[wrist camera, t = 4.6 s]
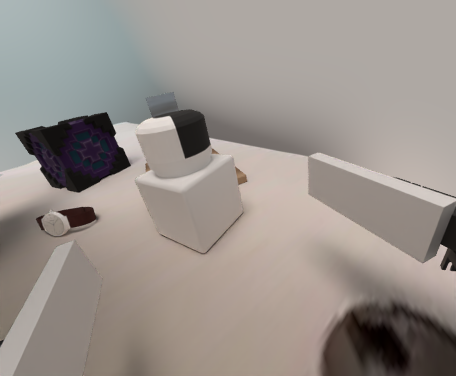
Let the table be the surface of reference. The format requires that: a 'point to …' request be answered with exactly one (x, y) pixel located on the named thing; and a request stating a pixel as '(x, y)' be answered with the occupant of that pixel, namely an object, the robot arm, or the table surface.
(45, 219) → the watch
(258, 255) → the table surface
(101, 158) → the energy cube
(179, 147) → the medicine bottle
